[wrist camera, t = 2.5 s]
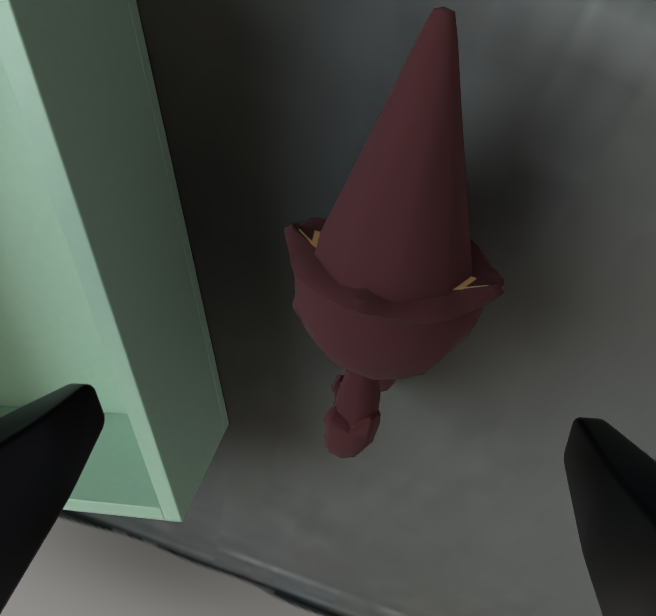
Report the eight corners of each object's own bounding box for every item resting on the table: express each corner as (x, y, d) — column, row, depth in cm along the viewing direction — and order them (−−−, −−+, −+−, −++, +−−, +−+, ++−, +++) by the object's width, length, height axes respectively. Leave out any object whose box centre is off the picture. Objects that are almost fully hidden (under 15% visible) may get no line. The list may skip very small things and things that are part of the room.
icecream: (237, -17, 10) (241, 440, 18) (617, 36, 8) (420, 522, 16) (355, -9, 15) (315, 343, 24) (599, 24, 13) (458, 395, 22)
